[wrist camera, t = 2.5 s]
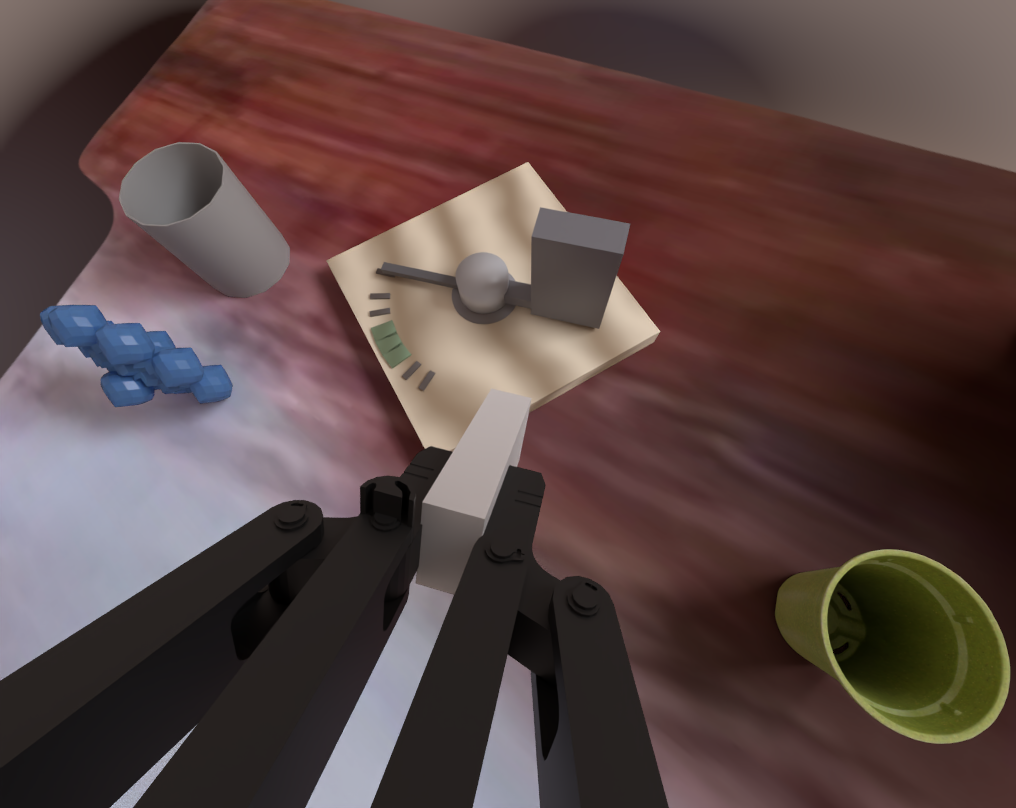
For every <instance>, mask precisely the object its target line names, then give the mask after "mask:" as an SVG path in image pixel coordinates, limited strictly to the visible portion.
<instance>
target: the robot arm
mask: <svg viewBox="0 0 1016 808" xmlns="http://www.w3.org/2000/svg"><path fill="white" fill-rule="evenodd" d="M531 399H532V398H529V397H525V396H521V395H517V394H513V393H508V392H504V391H500V390H496V389H491V390H490V392H489V393H488V395H487V397H486V398H485V400H484V402H483V403H482V405H481V406H480V408H479V410H478V411H477V413H476V415H475V416H474V418H473V420H472V421H471V423H470V425H469V426H468V428H467V430H466V431H465V433H464V434H463V436H462V438H461V439H460V441H459V443H458V444H457V446H456V448H455V449H454V451H453V452H452V451H448V450H444V449H440V448H437V447H433V446H430V447H428V448H426V449H424V450H422V451H421V452H419V453H417V455H416V456H415V458H414V459H413V460H412V462H411V463H410V465H409V466H408V467H407V468H406V470H405V471H404V474H402V475H401V476H400V477H394V476H381V477H376V478H373V479H371V480H368V481H367V482H365V483H364V484H363V485H361V486H360V515H359V516H357V517H351V518H325V517H323V514H322V510H321V508H320V507H318V506H317V505H316V504H315V503H312V502H309V501H305V500H293V501H288V502H283V503H281V504H278V505H276V506H274V507H272V508H270V509H269V510H267V511H266V512H264V513H262V514H261V515H259V516H258V517H256V518H255V519H253V520H252V521H250V522H248V523H247V524H245V525H244V526H242V527H241V528H239V529H237V530H236V531H234V532H233V533H231V534H230V535H228V536H226V537H225V538H223V539H222V540H220V541H219V542H217V543H215V544H214V545H212V546H211V547H209V548H208V549H206V550H205V551H203V552H201V553H200V554H198V555H197V556H195V557H194V558H192V559H190V560H189V561H187V562H186V563H184V564H183V565H181V566H179V567H178V568H176V569H175V570H173V571H172V572H170V573H168V574H167V575H165V576H164V577H162V578H161V579H159V580H158V581H156V582H154V583H153V584H151V585H150V586H148V587H147V588H145V589H143V590H142V591H140V592H139V593H137V594H136V595H134V596H132V597H131V598H129V599H128V600H126V601H125V602H123V603H121V604H120V605H118V606H117V607H115V608H114V609H112V610H111V611H109V612H107V613H106V614H104V615H103V616H101V617H100V618H98V619H96V620H95V621H93V622H92V623H90V624H89V625H87V626H85V627H84V628H82V629H81V630H79V631H78V632H76V633H74V634H73V635H71V636H70V637H68V638H67V639H65V640H64V641H62V642H60V643H59V644H57V645H56V646H54V647H53V648H51V649H49V650H48V651H46V652H45V653H43V654H42V655H40V656H38V657H37V658H35V659H34V660H32V661H31V662H29V663H27V664H26V665H24V666H23V667H21V668H20V669H18V670H17V671H15V672H13V673H12V674H10V675H9V676H7V677H6V678H4V679H2V680H1V681H0V808H110V807H111V806H112V805H113V804H114V803H115V802H116V801H117V800H118V799H119V798H120V797H121V796H122V795H123V794H124V793H125V792H126V791H128V790H129V789H130V788H131V787H132V786H133V785H134V784H135V783H136V782H137V781H138V780H139V779H140V778H141V777H142V776H143V775H144V774H145V773H146V772H147V771H149V770H150V769H151V768H152V767H153V766H154V765H155V764H156V763H157V762H158V761H159V760H160V759H161V758H162V757H163V756H164V755H165V754H166V753H167V752H168V751H170V750H171V749H172V748H173V747H174V746H175V745H176V744H177V743H178V742H179V741H180V740H181V739H182V738H183V737H184V736H185V735H186V734H187V733H188V732H190V731H191V730H192V729H193V728H194V727H195V726H196V725H197V726H196V727H195V728H194V729H193V731H192V732H191V733H190V735H189V736H188V737H187V739H186V740H185V741H184V742H183V744H182V745H181V746H180V748H179V749H178V750H177V751H176V753H175V754H174V755H173V757H172V758H171V759H170V761H169V762H168V763H167V764H166V766H165V767H164V768H163V770H162V771H161V772H160V773H159V775H158V776H157V777H156V779H155V780H154V781H153V783H152V784H151V785H150V786H149V788H148V789H147V790H146V792H145V793H144V794H143V795H142V797H141V798H140V799H139V801H138V802H137V803H136V805H135V806H134V807H133V808H305V807H306V805H307V803H308V801H309V799H310V797H311V795H312V793H313V791H314V788H315V786H316V784H317V782H318V780H319V778H320V776H321V774H322V772H323V770H324V768H325V766H326V764H327V762H328V760H329V758H330V756H331V754H332V752H333V750H334V748H335V746H336V744H337V742H338V740H339V738H340V736H341V734H342V732H343V730H344V728H345V726H346V724H347V722H348V720H349V718H350V716H351V714H352V712H353V710H354V708H355V706H356V704H357V702H358V699H359V697H360V695H361V693H362V691H363V689H364V687H365V685H366V683H367V681H368V679H369V677H370V675H371V673H372V671H373V669H374V667H375V665H376V663H377V661H378V659H379V657H380V655H381V653H382V651H383V649H384V647H385V645H386V643H387V641H388V639H389V637H390V635H391V633H392V631H393V629H394V627H395V625H396V623H397V621H398V619H399V617H400V615H401V613H402V610H403V608H404V606H405V604H406V602H407V599H408V595H409V586H410V583H411V581H412V579H413V577H414V575H415V573H416V571H417V575H416V583H417V584H420V585H423V586H427V587H430V588H433V589H437V590H440V591H444V592H447V593H450V594H454V597H453V599H452V602H451V604H450V607H449V610H448V612H447V615H446V617H445V620H444V622H443V625H442V627H441V630H440V632H439V635H438V638H437V640H436V643H435V645H434V648H433V650H432V653H431V655H430V658H429V660H428V663H427V666H426V668H425V671H424V673H423V676H422V678H421V681H420V683H419V686H418V688H417V691H416V693H415V696H414V699H413V701H412V704H411V706H410V709H409V711H408V714H407V716H406V719H405V721H404V724H403V727H402V729H401V732H400V734H399V737H398V739H397V742H396V744H395V747H394V749H393V752H392V755H391V757H390V760H389V762H388V765H387V767H386V770H385V772H384V775H383V777H382V780H381V783H380V785H379V788H378V790H377V793H376V795H375V798H374V800H373V803H372V805H371V808H472V807H473V803H474V799H475V794H476V790H477V786H478V781H479V777H480V772H481V768H482V764H483V759H484V755H485V751H486V746H487V742H488V737H489V733H490V729H491V724H492V720H493V715H494V711H495V707H496V702H497V698H498V694H499V689H500V685H501V680H502V676H503V672H504V667H505V663H506V659H507V654H508V655H510V656H511V657H512V658H514V659H515V660H517V661H518V662H519V663H521V664H522V665H524V666H525V667H526V668H528V669H529V670H531V683H532V697H533V711H534V726H535V740H536V755H537V769H538V783H539V798H540V808H669V807H668V803H667V799H666V796H665V792H664V788H663V785H662V781H661V777H660V773H659V770H658V766H657V762H656V759H655V755H654V751H653V748H652V744H651V740H650V737H649V733H648V729H647V725H646V722H645V718H644V714H643V711H642V707H641V703H640V700H639V696H638V692H637V689H636V685H635V681H634V677H633V674H632V670H631V666H630V663H629V659H628V655H627V652H626V648H625V644H624V640H623V637H622V633H621V629H620V626H619V622H618V618H617V615H616V611H615V607H614V604H613V602H612V600H611V598H610V595H609V594H608V593H607V592H606V590H605V589H604V588H603V587H602V586H601V585H599V584H598V583H596V582H594V581H592V580H591V579H588V578H584V577H580V576H573V577H567V578H565V579H563V580H561V581H560V580H558V579H557V578H555V577H553V576H552V575H550V574H549V573H547V572H546V571H545V570H543V569H542V568H541V567H540V566H539V564H538V563H537V562H536V560H535V558H534V556H533V552H532V543H533V539H534V534H535V530H536V525H537V521H538V516H539V512H540V507H541V503H542V498H543V494H544V490H545V482H544V479H543V477H542V474H541V473H539V472H535V471H531V470H527V469H523V468H519V467H517V465H518V462H519V458H520V453H521V448H522V443H523V438H524V433H525V429H526V424H527V419H528V414H529V409H530V404H531Z"/></svg>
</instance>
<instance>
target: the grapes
mask: <svg viewBox="0 0 1016 808" xmlns="http://www.w3.org/2000/svg"><path fill="white" fill-rule="evenodd" d="M40 318H41V322H42V324H43V326H44V328H45V330H46V331H47V332H48V334H49V335H50V337H51V338H52V339H53V340H54V342H55V343H56V344H57V345H64V346H65V347H78V348H79V349H80V351H81V352H82V353H83V355H84V356H85V357H86V358H88V357H91V358H92V360H93V361H94V363H95V364H96V366H97V367H98V366H101V368H107V370H108V371H109V372H108V373H106V374H104V375H103V376H102V378H101V387H102V389H103V391H104V393H105V394H106V396H107V397H108V399H109V400H110V401H111V402H112V404H113V405H114V406H115V407H122V406H131V405H138V404H142V403H145V402H147V401H150V400H152V398H153V396H154V390H157V389H161V390H162V392H163V393H165V394H169V393H174V394H179V393H193V395H194V396H195V397H196V399H197V400H198V401H199V402H200V403H209V402H217V401H221V400H224V399H226V398H228V397H230V395H231V391H232V387H233V385H232V383H231V381H230V378H229V377H228V375H227V373H226V371H225V370H224V368H223V367H222V366H221V365H210V366H202V365H201V363H200V361H199V359H198V357H197V356H196V354H195V353H194V351H193V350H192V348H176V347H175V345H174V343H173V341H172V340H171V338H170V337H169V335H168V334H167V332H166V331H150V332H146V331H145V329H144V328H143V327H142V325H141V324H140V323H122V324H114V323H113V322H112V321H106V319H105V318H104V316H103V314H102V313H101V312H100V310H99V309H98V308H97V306H96V305H62V306H50V307H48V308H46V309H45V310H43V311H42V312H41V313H40Z"/></svg>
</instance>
